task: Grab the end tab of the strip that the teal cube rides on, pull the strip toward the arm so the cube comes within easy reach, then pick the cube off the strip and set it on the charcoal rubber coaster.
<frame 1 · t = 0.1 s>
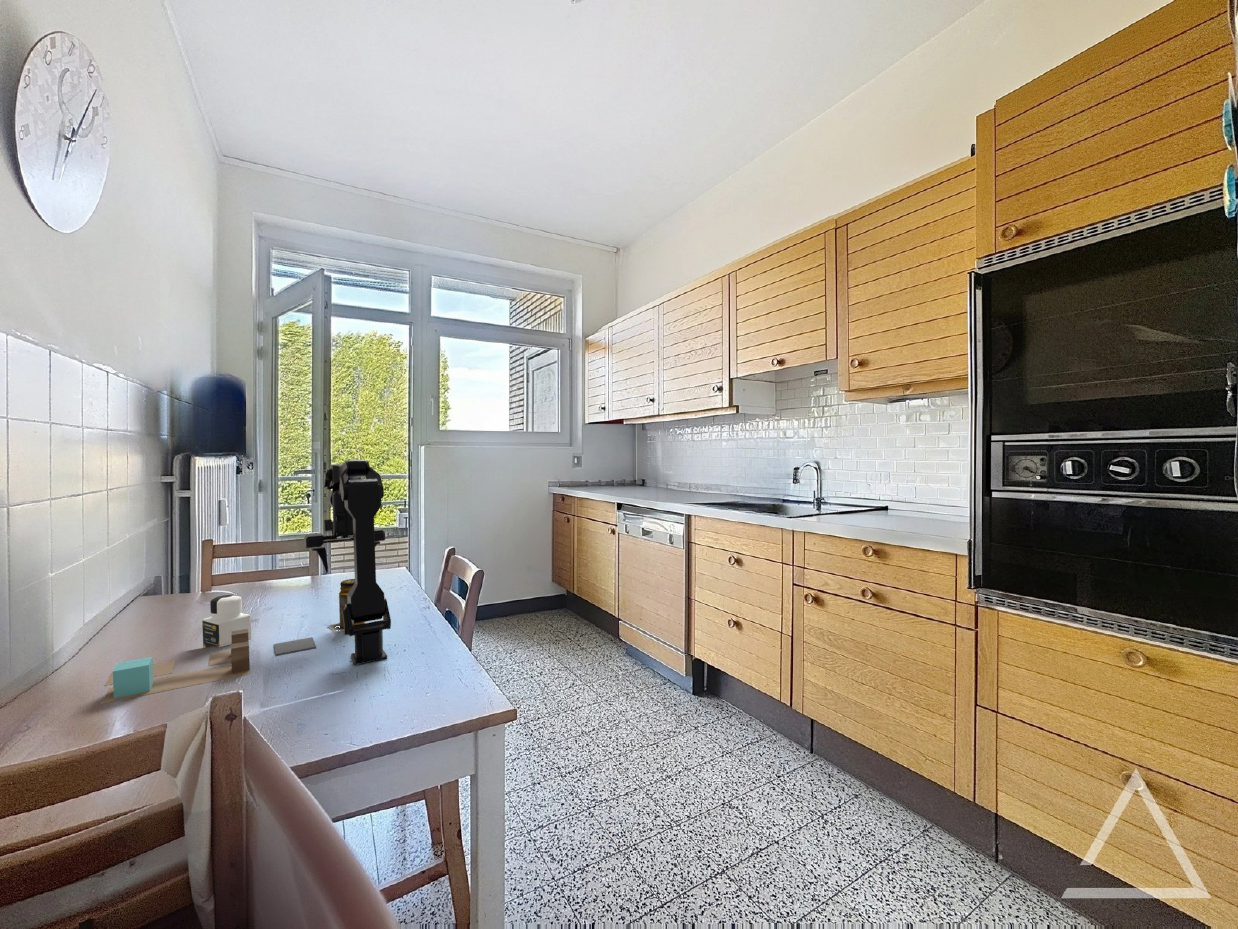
hand: (346, 570, 144), 15 cm above the table, tool pointing down, fingers open, 9 cm apart
coaster: (295, 647, 128), on the table
medicine bottle: (227, 647, 129), on the table
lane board: (177, 680, 110), on the table
strip a: (181, 671, 106), point 3 cm above the table, slide at 0.0 cm, touching cube
cube: (134, 690, 102), point 1 cm above the table, touching strip a
strip b stub: (229, 647, 119), point 3 cm above the table, slide at 0.0 cm
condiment: (348, 627, 143), on the table
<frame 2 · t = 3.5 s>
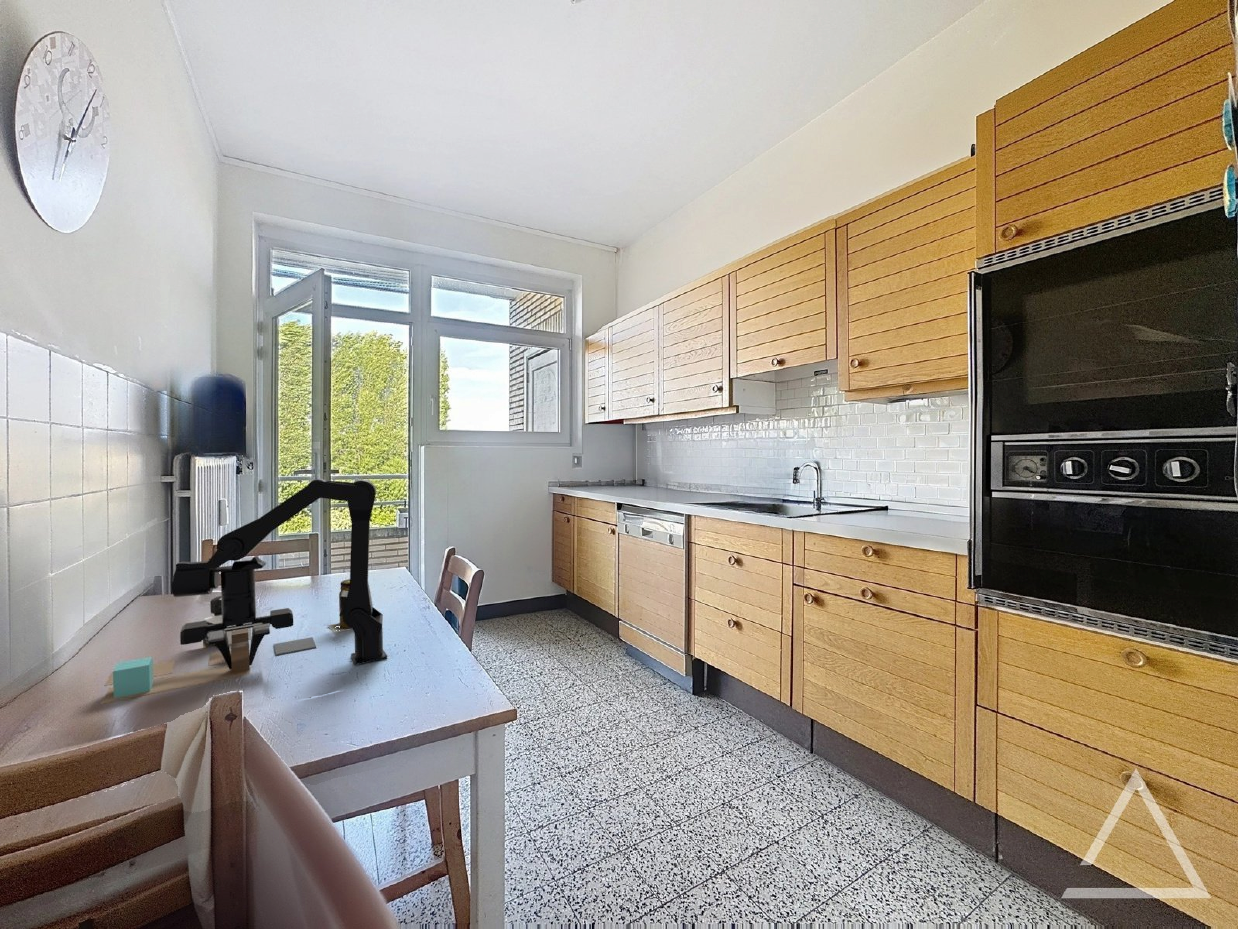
hand: (240, 666, 112), 2 cm above the table, tool pointing down, fingers closed on strip a, 3 cm apart
strip a: (181, 671, 106), point 3 cm above the table, slide at 0.0 cm, touching cube, gripper
everything else where it was.
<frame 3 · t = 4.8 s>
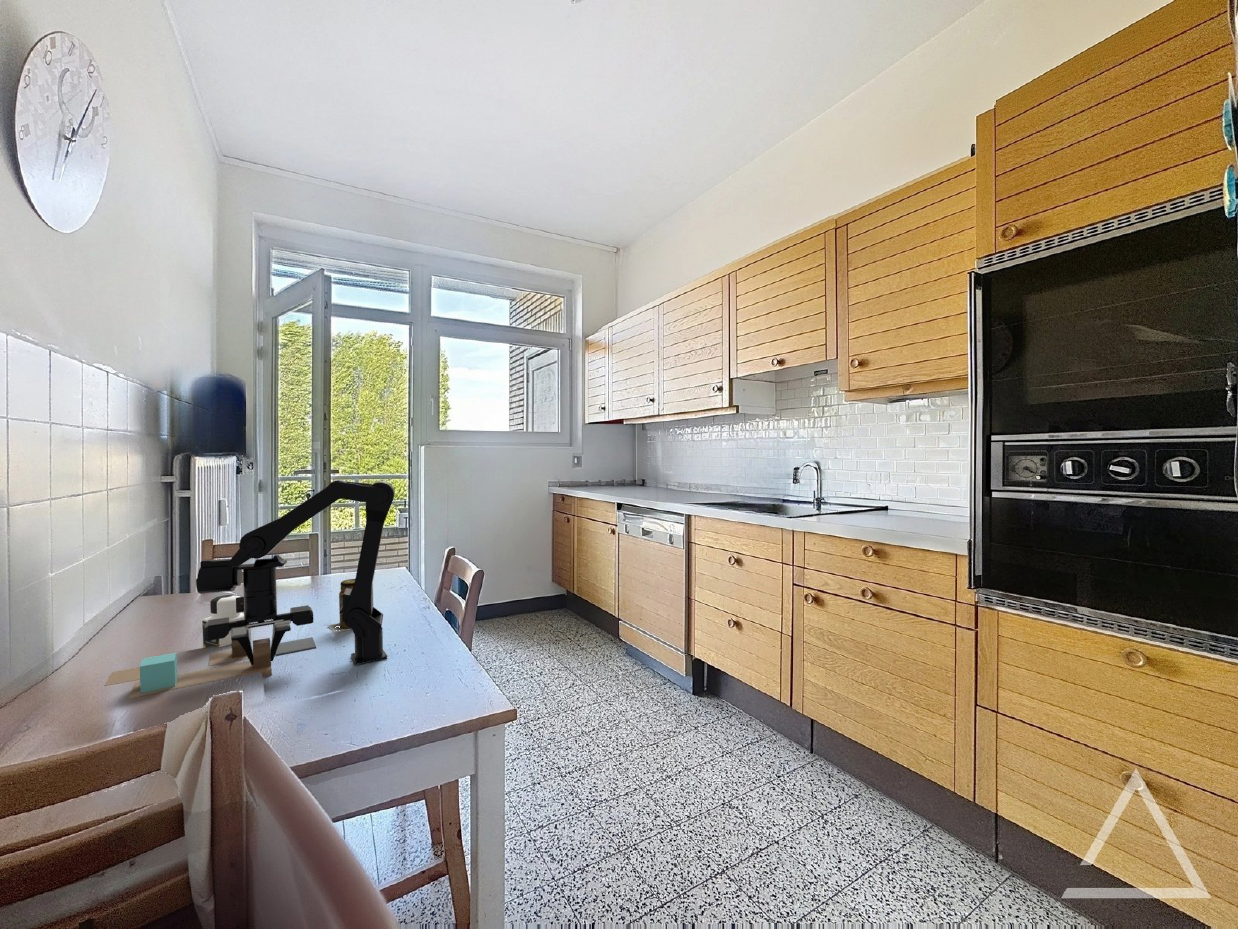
hand: (262, 662, 114), 2 cm above the table, tool pointing down, fingers closed on strip a, 3 cm apart
strip a: (205, 666, 108), point 3 cm above the table, slide at 3.7 cm, touching cube, gripper
cube: (159, 685, 104), point 1 cm above the table, touching strip a
everything else where it was.
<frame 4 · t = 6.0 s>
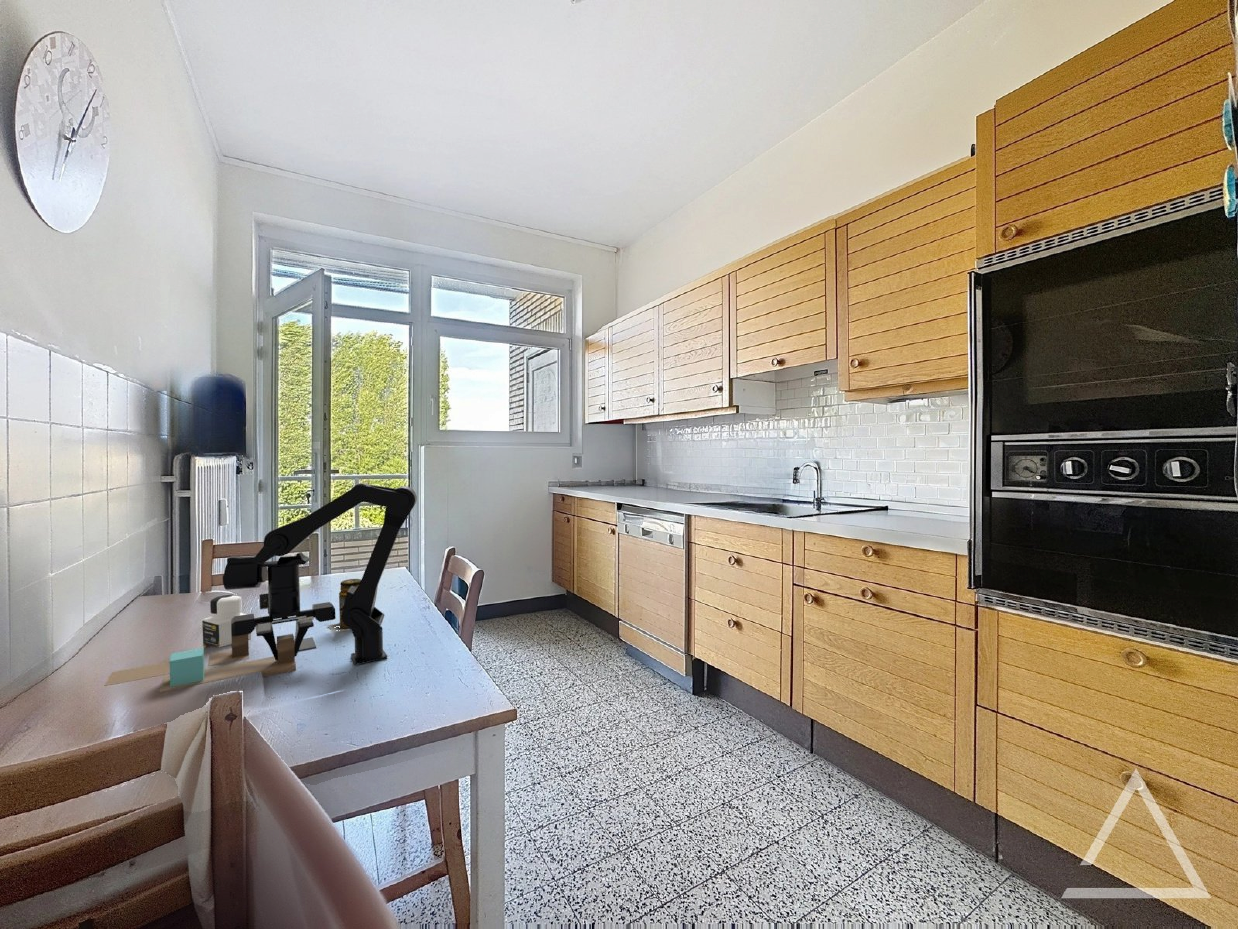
hand: (286, 657, 116), 2 cm above the table, tool pointing down, fingers open, 3 cm apart
strip a: (231, 661, 111), point 3 cm above the table, slide at 8.0 cm, touching cube
cube: (187, 679, 107), point 1 cm above the table, touching strip a
everything else where it was.
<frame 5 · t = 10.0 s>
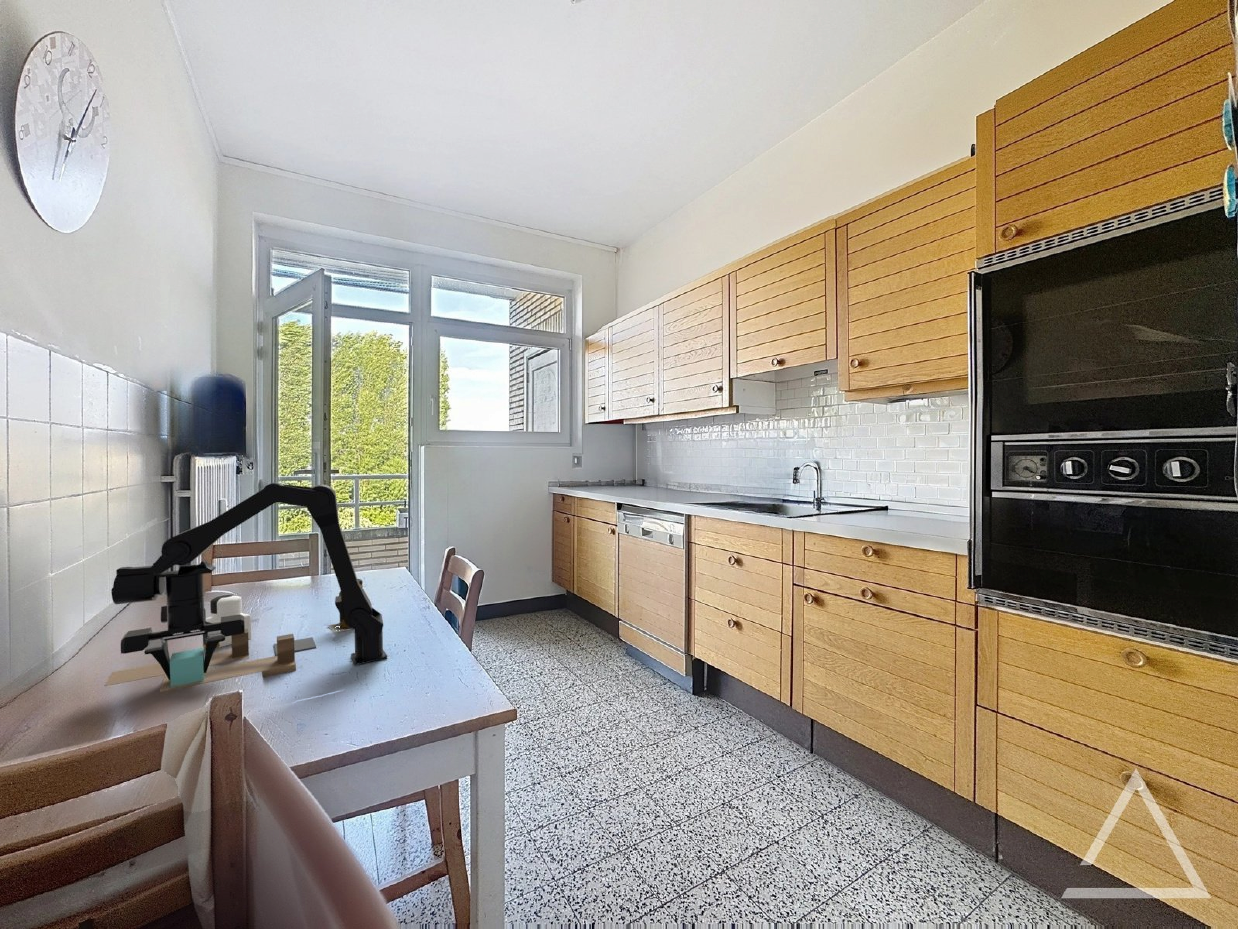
hand: (188, 675, 107), 2 cm above the table, tool pointing down, fingers closed on cube, 5 cm apart
cube: (188, 679, 107), point 1 cm above the table, touching gripper, strip a
everything else where it was.
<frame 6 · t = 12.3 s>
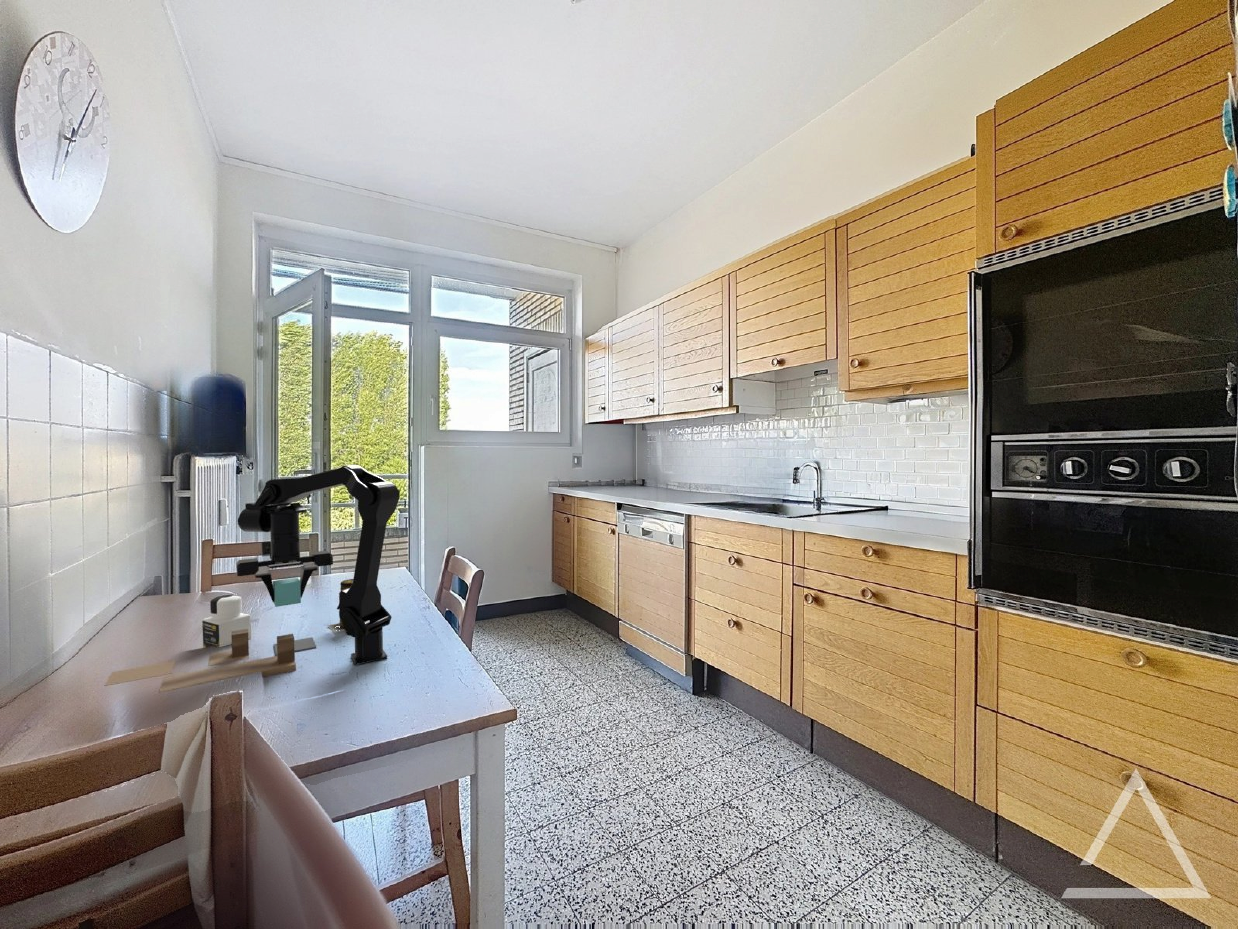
hand: (287, 599, 126), 12 cm above the table, tool pointing down, fingers closed on cube, 5 cm apart
strip a: (231, 661, 111), point 3 cm above the table, slide at 8.0 cm
cube: (287, 602, 126), point 11 cm above the table, touching gripper
everything else where it was.
when the fingers open (2 cm above the table, at t = 14.6 s): cube drops 1 cm, resting on coaster.
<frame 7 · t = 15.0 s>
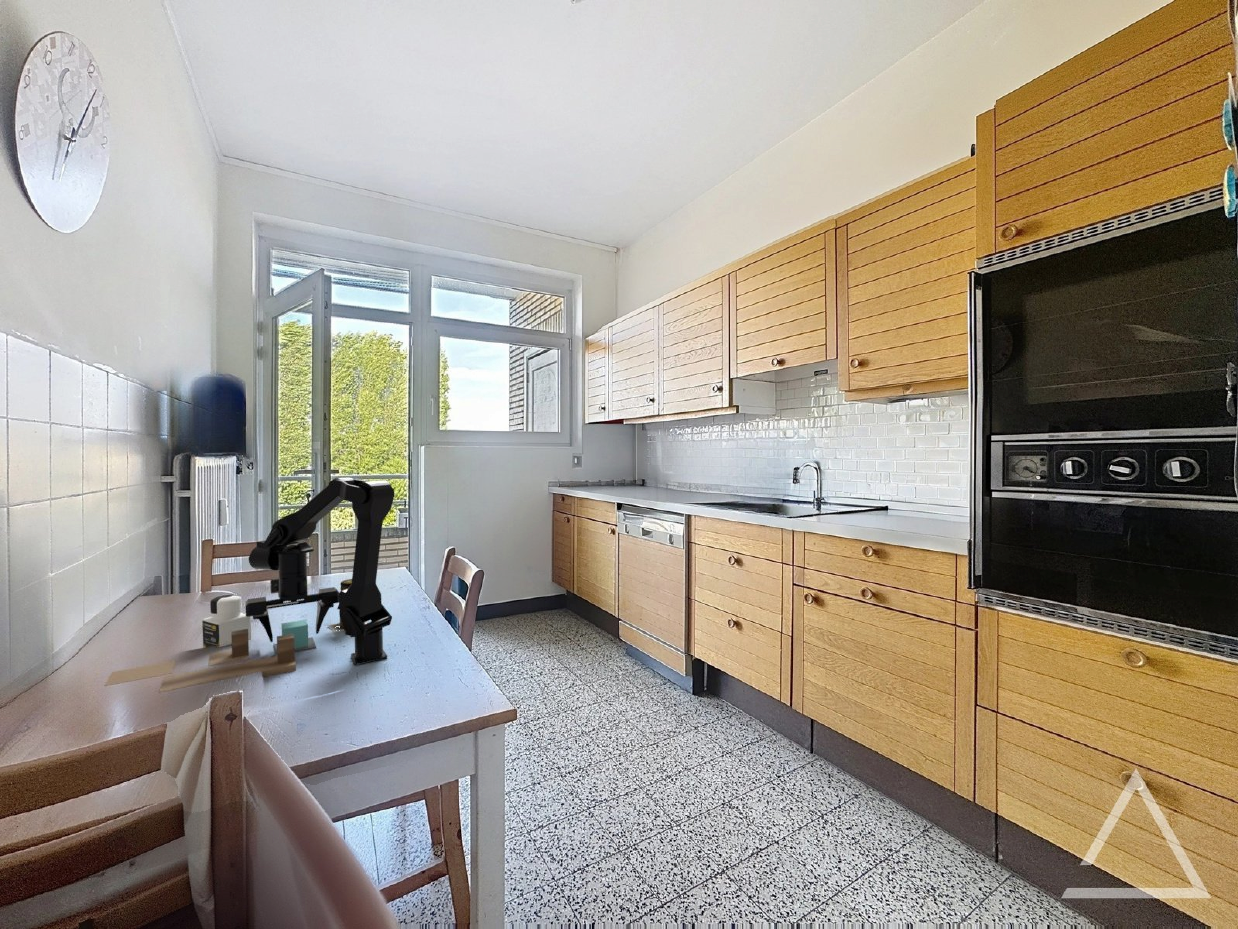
hand: (294, 637, 128), 2 cm above the table, tool pointing down, fingers open, 9 cm apart
cube: (295, 645, 128), point 1 cm above the table, touching coaster
everything else where it was.
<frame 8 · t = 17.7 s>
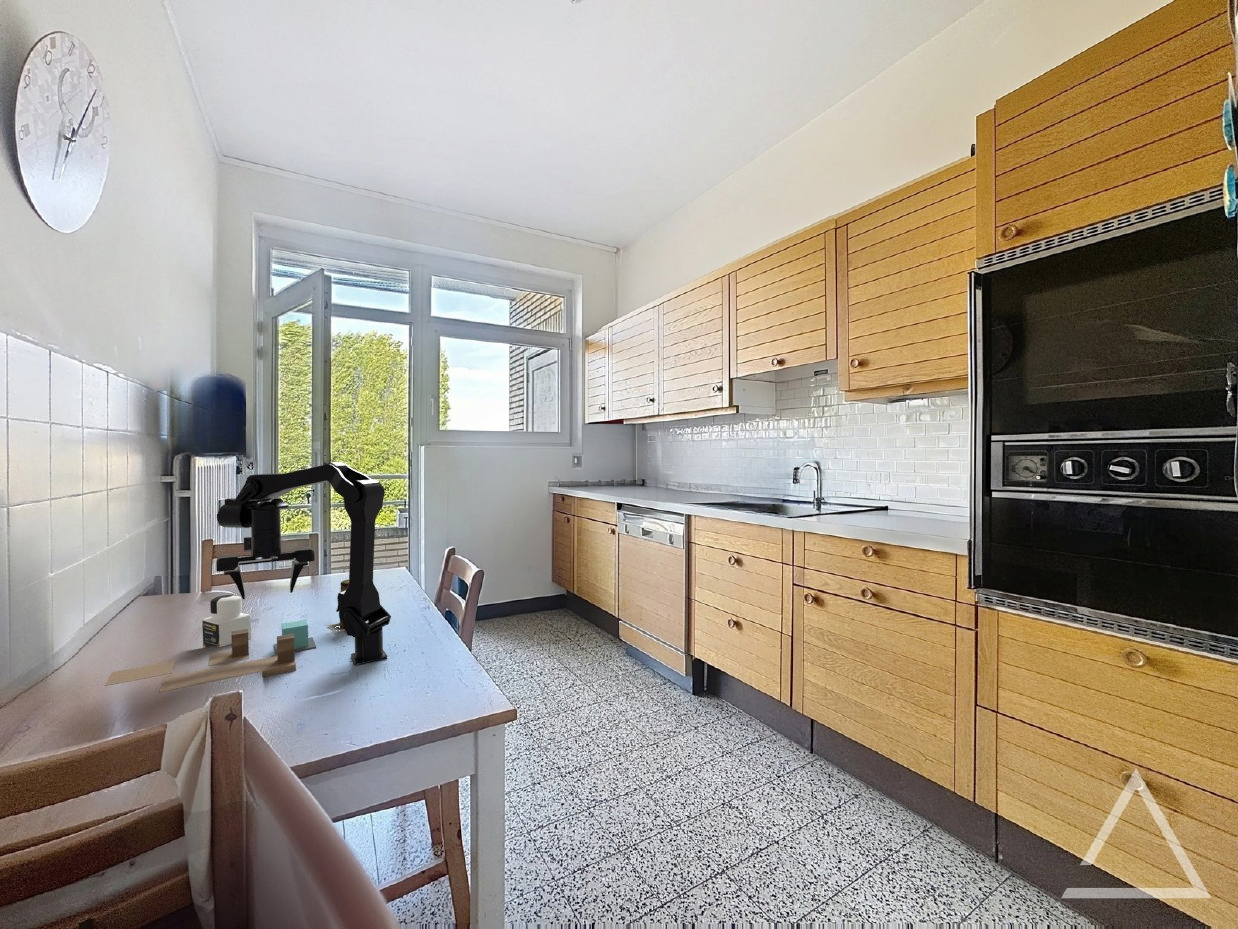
hand: (267, 595, 125), 13 cm above the table, tool pointing down, fingers open, 9 cm apart
nothing on the table moved.
at the end: strip a slide at 8.0 cm; cube inside the target area on the coaster (0.1 cm from its centre), point 0.6 cm above the coaster's base; the gripper is holding nothing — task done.
